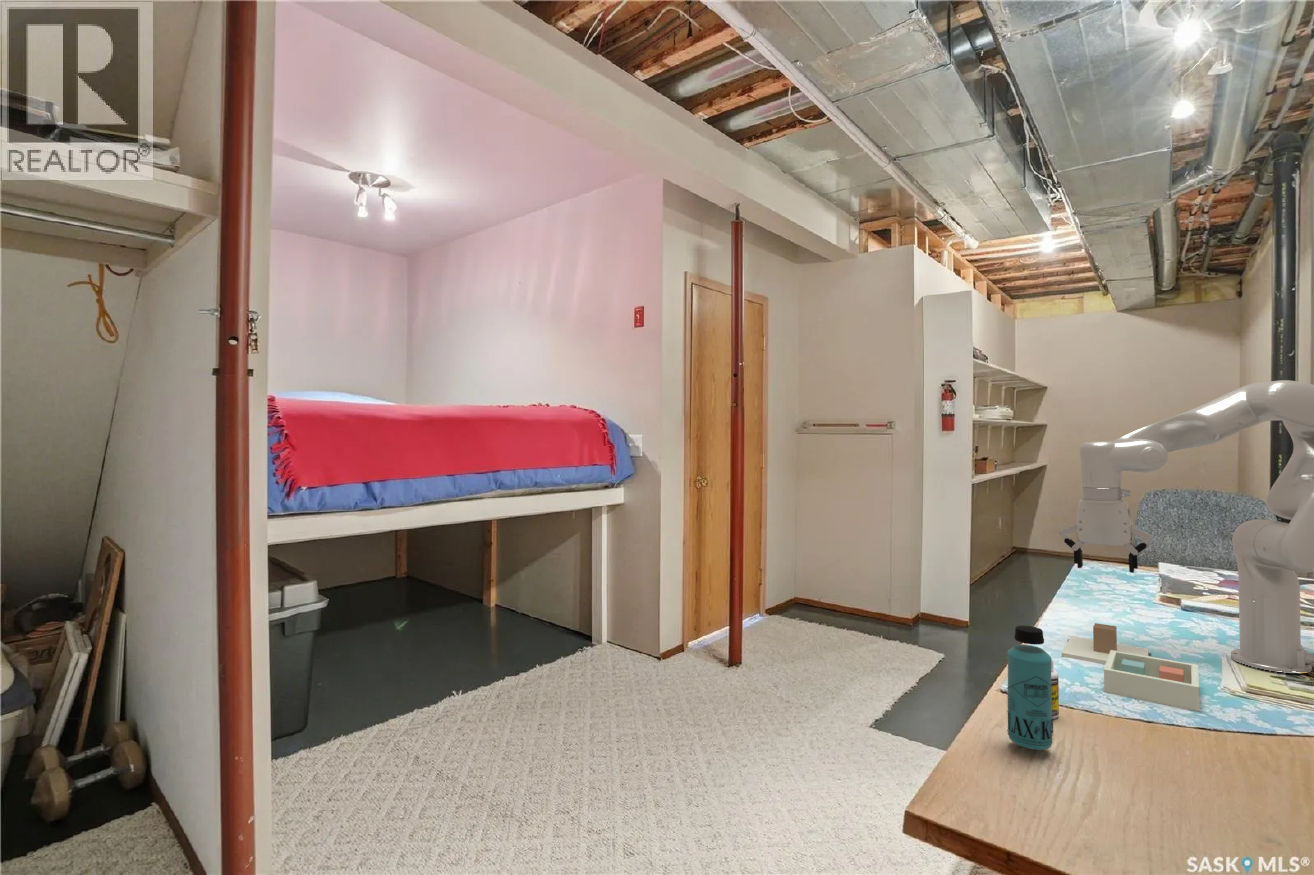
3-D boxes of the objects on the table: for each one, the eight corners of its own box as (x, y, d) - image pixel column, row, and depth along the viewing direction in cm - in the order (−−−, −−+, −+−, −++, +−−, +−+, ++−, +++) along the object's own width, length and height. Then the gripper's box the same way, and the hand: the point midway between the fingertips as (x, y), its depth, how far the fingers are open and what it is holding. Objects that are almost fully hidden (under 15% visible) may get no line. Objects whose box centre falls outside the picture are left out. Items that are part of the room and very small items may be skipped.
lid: (1148, 653, 141) (1148, 625, 141) (1145, 672, 130) (1144, 642, 130) (1070, 640, 151) (1070, 613, 151) (1061, 657, 140) (1060, 628, 140)
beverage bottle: (998, 741, 103) (996, 622, 103) (1035, 738, 103) (1033, 620, 103) (1025, 761, 96) (1022, 634, 96) (1064, 758, 97) (1062, 632, 97)
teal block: (1145, 680, 125) (1144, 662, 125) (1144, 685, 123) (1143, 668, 123) (1123, 676, 128) (1122, 658, 128) (1121, 681, 125) (1121, 663, 125)
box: (1198, 690, 122) (1198, 664, 122) (1199, 714, 111) (1198, 687, 111) (1111, 673, 131) (1110, 649, 131) (1104, 694, 120) (1103, 669, 120)
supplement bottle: (1050, 723, 109) (1049, 666, 109) (1017, 712, 113) (1016, 657, 113) (1065, 715, 112) (1063, 659, 112) (1032, 704, 116) (1031, 650, 117)
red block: (1183, 687, 121) (1183, 669, 121) (1183, 693, 119) (1183, 675, 119) (1160, 683, 124) (1159, 665, 124) (1159, 688, 121) (1159, 670, 121)
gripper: (1151, 494, 138) (1154, 570, 137) (1060, 492, 149) (1063, 562, 149) (1149, 497, 132) (1153, 576, 132) (1054, 495, 143) (1058, 568, 143)
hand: (1105, 569), depth 140 cm, fingers open, 9 cm apart
